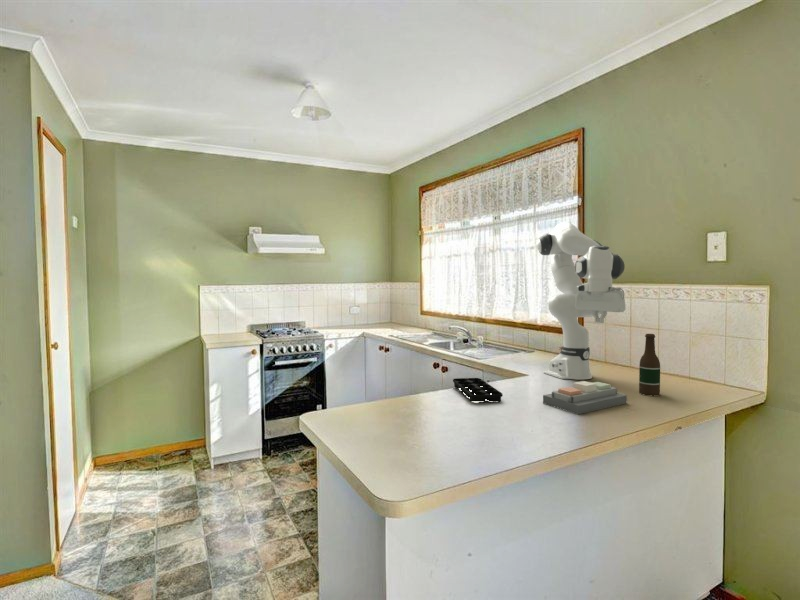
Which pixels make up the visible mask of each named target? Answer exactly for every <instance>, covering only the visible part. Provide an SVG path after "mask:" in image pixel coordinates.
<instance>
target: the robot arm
mask: <svg viewBox="0 0 800 600" xmlns="http://www.w3.org/2000/svg"><path fill="white" fill-rule="evenodd" d="M536 248H537V250H538V253H539V254H540V255H542V256H549V255H550V256H551V255H552V256H551V258H550V269H551V273H552V276H553V277H552V278H553V280H554V283H555V286H556V288H557V290H558V291H559V292H561V294H558V295H554V296H552V297H551V298H550V299H549V301H548V306H547V307H548V311H549V313H550V314H551V315H552V316H553V317H554V318H556V319H557V321H558V322H559V324H560V327H561V329H562V336H563V337H562V339H563V346H559V347H558V351H560V352H559V353H558V355H556V356H555V357H553V358H552V359H550V361H549V363H548V369H545V370H543V373H544V374H546V375H549V376H551V377H555V378H557V379H558V378H559V379H561V380H580V381H585V380H589V379H592V378H593V376H592V372H591V367H590V355H591V354H590V352H591V350H590V347H589V346H590V345H589V341H590V340H589V335H590V334H589V330H588V329H587V328H586V327H585V326H583V325H582V324H580V323H579V320H578V318H592V317H594V323H599V324H604V322H605V319H606V317H607V314H608V312H611V313H624V312H625V311H626V298H625V291H624V289H622V288H621V287H613V280H617V279H618V278H620V277H621V276H622V274H623V273H624V271H625V268H626V267H625V261H624V260H623V257H621V256H620V255H619V254H615V253H613V252H612V250H611V249H612V248H611V247H610V246H608V245H607V246H606V245H603V244H601V243H600V242H598V241H596V240H595V239H593V238H591V237H589V236H588V235H586V234H584V233H583V232H582V230H580V229H579V228H578V227H577V226H575V225H574V224H572V223H571V222H569V221H562V222H560V223H558V224H557V225H556V226H555V227H554V229H553V232H547V233H544V234H542V235H539V236H538V238H537V241H536ZM573 256H579V257H578V258H577V259H576V261H575V263H574V261H573ZM582 279H585V280H586V279H587V282H586V283H583V281H582Z"/></svg>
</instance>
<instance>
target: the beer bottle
mask: <svg viewBox="0 0 800 600" xmlns="http://www.w3.org/2000/svg"><path fill="white" fill-rule="evenodd" d="M644 337H645V346H644V353H643V355H641V356H640V359H639V373H638V374H639V377H638V378H639V379H638V380H639V381H638V382H639V384H638V388H639V389H638V390H639V394H640V393H641V395H643V394H644V396H647V395H652V396H651V397H655V396H654V395H659V396H660V393H661V362H660V359H659V357H658V355H657V354H656V345H655V338H656V334H654V333H645V334H644Z"/></svg>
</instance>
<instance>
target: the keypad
mask: <svg viewBox="0 0 800 600" xmlns="http://www.w3.org/2000/svg"><path fill="white" fill-rule="evenodd" d="M627 397H628V396H627V394H623V393H619V392H618V388H616V387H613V386H610V388H609V389H604V390H598V389H596V391H594V392H589V393H584V392H581V394H578V395H573V396H569V395H565V394H562V393H558V390H553V391H551V393H548V394H543V395H542V403H543V404H544V403H546V404H545V405H548V404H549V405H548V406H551V405H552V407H554V406H555V407H554V408H557V407H558V409H560V408H561V409H560V410H563V409H564V411H566V410H567V412H570V413H573V414H577V415H581V414H586V413H591V412H593V411H599V410H603V409H608V408H612V407H611V406H613V407H616V406H615V405H617V406H621V405H625V404H624V403H626V404H627V403H628V401H627V400H628V399H627ZM620 404H621V405H620ZM607 407H608V408H607Z"/></svg>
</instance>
